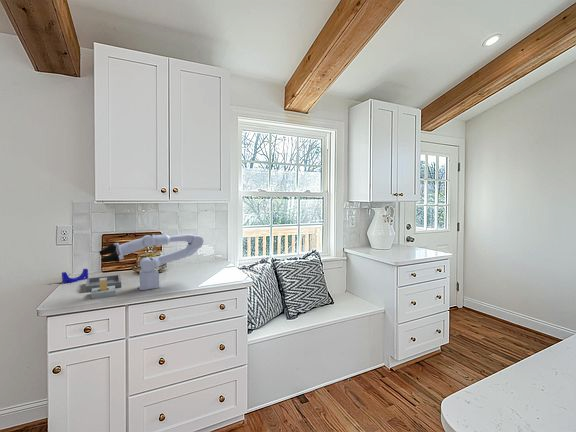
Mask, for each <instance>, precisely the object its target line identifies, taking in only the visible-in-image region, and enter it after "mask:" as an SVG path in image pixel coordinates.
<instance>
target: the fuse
mask: <svg viewBox="0 0 576 432" xmlns="http://www.w3.org/2000/svg"><path fill="white" fill-rule="evenodd" d="M105 290H107V278H100V291H105Z"/></svg>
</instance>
